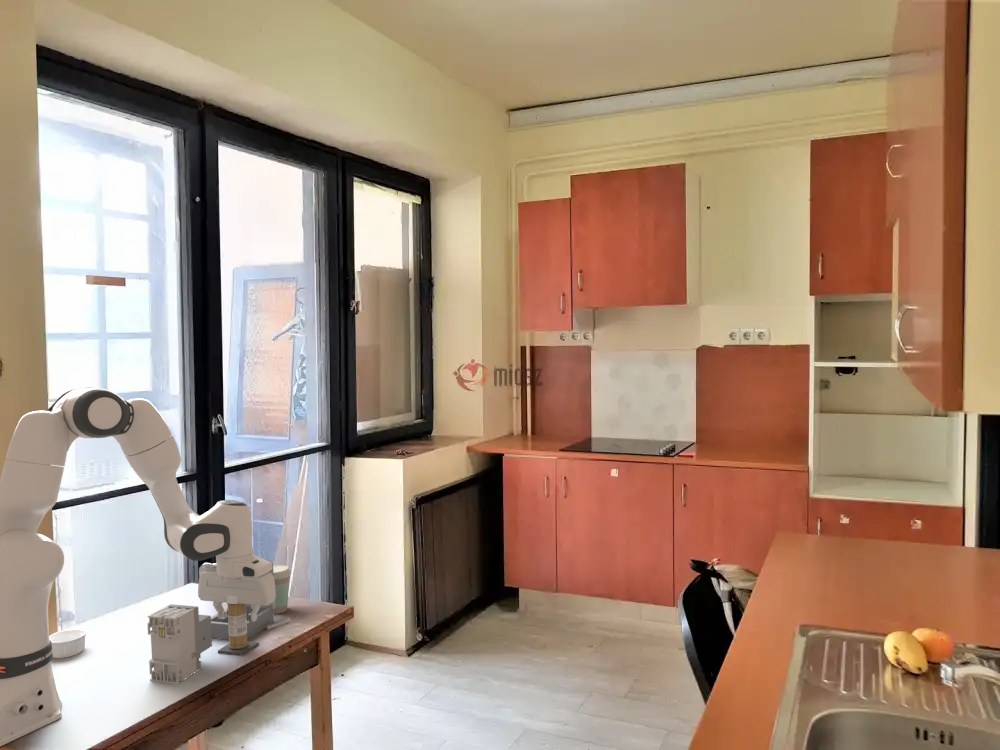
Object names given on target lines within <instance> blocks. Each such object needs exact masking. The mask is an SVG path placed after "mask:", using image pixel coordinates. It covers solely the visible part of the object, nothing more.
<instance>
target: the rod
mask: <svg viewBox="0 0 1000 750" xmlns="http://www.w3.org/2000/svg"><path fill="white" fill-rule="evenodd" d="M290 622H291V618H289V617H286V618H282V619H280V620H276V621H274V622H272V623H271V624H268V625H265V628H264V629H265V630H271V629H274V628H276V627H279V626H283V625H284V624H288V623H290Z"/></svg>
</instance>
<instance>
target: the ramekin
mask: <svg viewBox="0 0 1000 750" xmlns="http://www.w3.org/2000/svg"><path fill="white" fill-rule="evenodd" d="M86 634H87V632H86V630H84V629H78V628H75V629H66V630H62V631H57V632H55V633H52V634H49V640H50V641H51V642H52V650H53V652H52V653H53V658H52V659H65V657H66V658H70V657H74V656H76V655H78V653H79V654H80V653H82V652H83V651H84V650H85V647H86V636H87V635H86ZM81 651H82V652H81ZM73 655H74V656H73Z"/></svg>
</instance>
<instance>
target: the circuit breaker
mask: <svg viewBox="0 0 1000 750" xmlns="http://www.w3.org/2000/svg"><path fill="white" fill-rule="evenodd" d="M199 612H200V611H199V606H197V605H196V606H195V605H183V604H171V603H170V604H169V605H166V606H165V607H162V608H160V609H159V610H157V611H154V612H153V613H151V614H149V615H147V618H148V622H147V635H148V636H150V644H151V646H150V647H151V659H149V663H148V664H149V675H150V677H151V678H150V680H149V681H151V682H156V683H157V682H158V683H166V684H173V683H177V684H176V685H179V684H180V682H179V681H181V682H183V681H182V680H184V679H185V678H187V677H188V676H190V675H191V674H192V673H194V672H196V671H197V670H199V669H200V668H201V669H202V662H201V660H200V659H201V658H202V657H201V654H202V653H203V652H205V651H206V650H208V649H210V648H212V647H213V641H212V640H213V638H212V635H211V627H212V624H211V617H212V616H211V615H208V614H200V613H199ZM201 669H200V670H201ZM200 670H199V671H200ZM197 672H198V671H197ZM197 672H196V673H197ZM194 674H195V673H194ZM191 676H192V675H191ZM191 676H190V677H191ZM188 678H189V677H188ZM188 678H187V679H188ZM185 680H186V679H185ZM185 680H184V681H185ZM178 683H179V684H178Z"/></svg>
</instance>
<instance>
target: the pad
mask: <svg viewBox="0 0 1000 750" xmlns="http://www.w3.org/2000/svg"><path fill="white" fill-rule="evenodd" d="M247 642H248V645H247V646H246V647H244V648H241V649H231V648H230V647H229V643H227V644H226V645H224V646H222V648H220V649H218V650H217V653H218V654H222V653H227V654H226V655H232V654H235V655H234V656H242V655H243V656H245V655H246V654H248V653H249V652H250V651H251V649H252V650H254V649H255V648H256V647H257V646H259V644H260V642H259V641H250V640H247ZM254 647H255V648H254ZM245 653H246V654H245Z"/></svg>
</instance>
